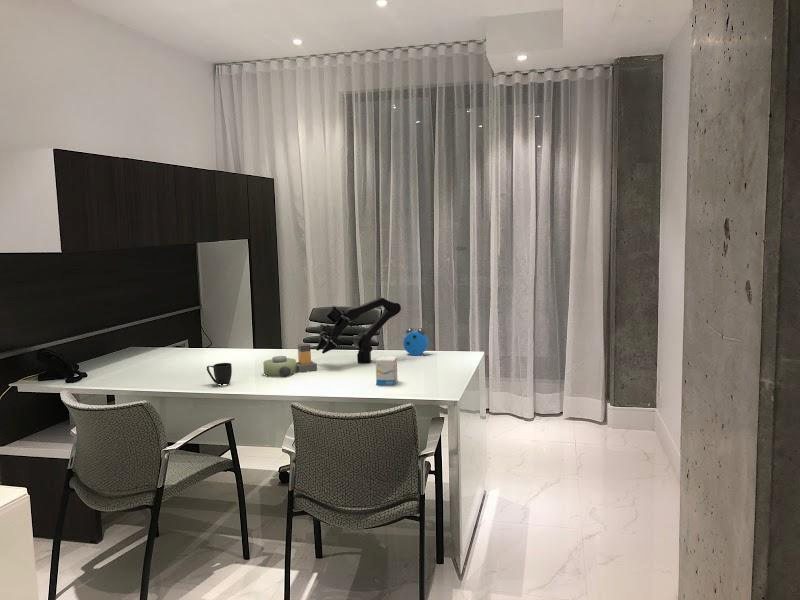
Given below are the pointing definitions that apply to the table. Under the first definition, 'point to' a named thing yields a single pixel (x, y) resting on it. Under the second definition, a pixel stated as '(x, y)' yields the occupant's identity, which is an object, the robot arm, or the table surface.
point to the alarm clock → (415, 341)
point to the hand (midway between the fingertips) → (319, 351)
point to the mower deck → (285, 366)
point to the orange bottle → (304, 354)
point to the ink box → (386, 370)
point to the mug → (221, 373)
